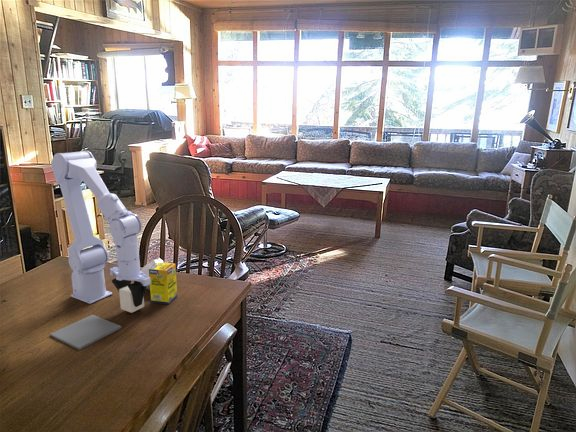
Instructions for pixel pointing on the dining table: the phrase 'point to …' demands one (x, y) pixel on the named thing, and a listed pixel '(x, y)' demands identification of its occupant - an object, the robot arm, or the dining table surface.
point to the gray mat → (85, 331)
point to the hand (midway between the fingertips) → (132, 303)
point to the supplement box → (163, 283)
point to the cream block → (128, 300)
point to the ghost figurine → (146, 267)
